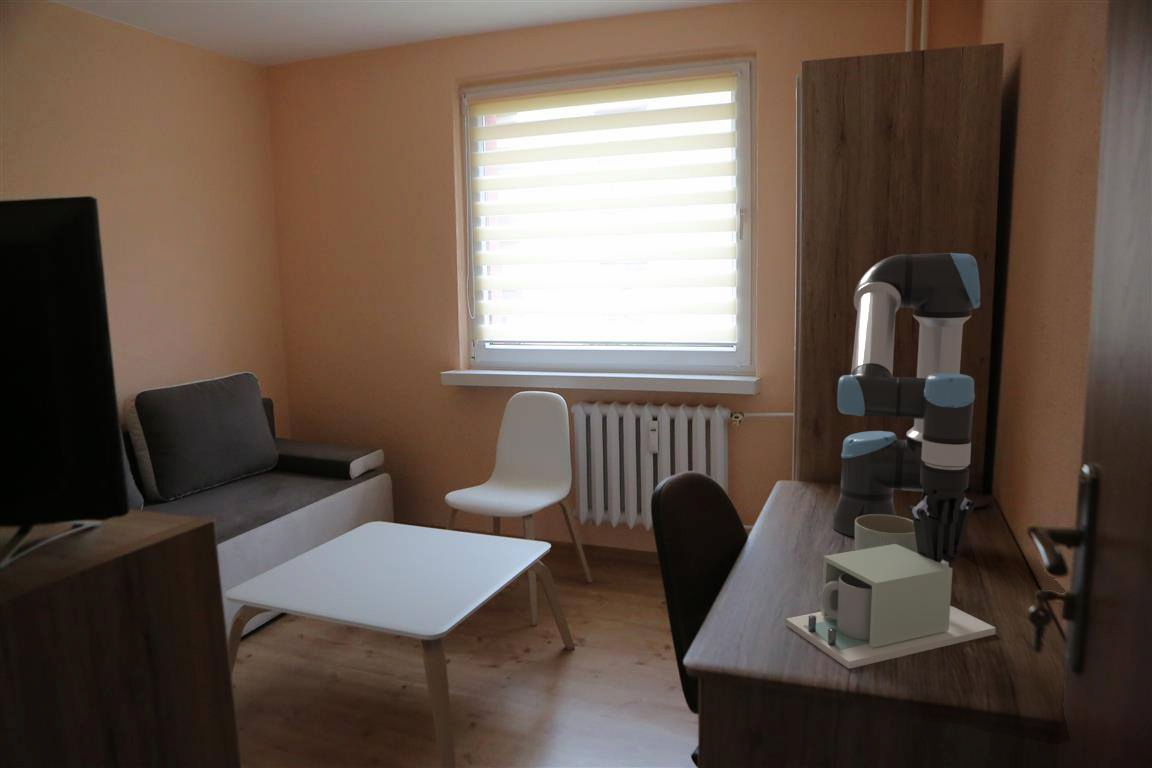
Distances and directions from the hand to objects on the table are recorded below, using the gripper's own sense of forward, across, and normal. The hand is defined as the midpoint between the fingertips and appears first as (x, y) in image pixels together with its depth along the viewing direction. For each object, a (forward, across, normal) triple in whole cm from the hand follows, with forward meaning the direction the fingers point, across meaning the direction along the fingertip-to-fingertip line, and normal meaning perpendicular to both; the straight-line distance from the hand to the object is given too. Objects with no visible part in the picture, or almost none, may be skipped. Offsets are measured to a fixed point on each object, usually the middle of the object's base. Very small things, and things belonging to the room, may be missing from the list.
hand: (937, 595), depth 133 cm
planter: (+5, -6, -19) cm, 21 cm away
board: (+5, +10, 0) cm, 11 cm away
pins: (+3, +18, 0) cm, 18 cm away
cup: (+3, +18, -1) cm, 18 cm away
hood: (+3, +12, 0) cm, 12 cm away
